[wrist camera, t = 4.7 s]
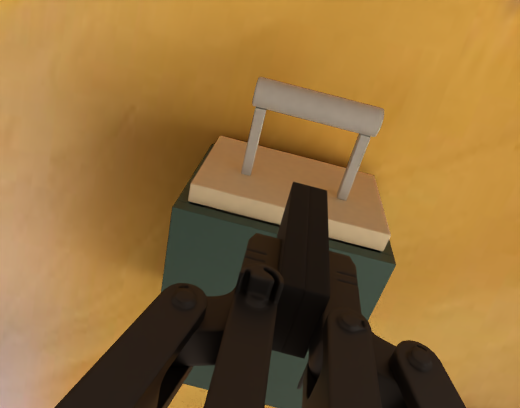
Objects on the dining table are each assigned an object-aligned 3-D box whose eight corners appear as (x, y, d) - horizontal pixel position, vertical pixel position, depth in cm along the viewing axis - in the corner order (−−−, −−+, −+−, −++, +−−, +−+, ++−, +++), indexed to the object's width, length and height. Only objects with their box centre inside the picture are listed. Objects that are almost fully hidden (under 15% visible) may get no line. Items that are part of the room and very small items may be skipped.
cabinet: (211, 143, 30) (172, 206, 22) (375, 185, 31) (396, 265, 22) (186, 287, 38) (150, 375, 30) (318, 321, 38) (318, 418, 30)
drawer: (235, 51, 26) (206, 78, 19) (406, 96, 26) (437, 138, 20) (193, 276, 36) (165, 346, 29) (319, 308, 36) (319, 386, 29)
